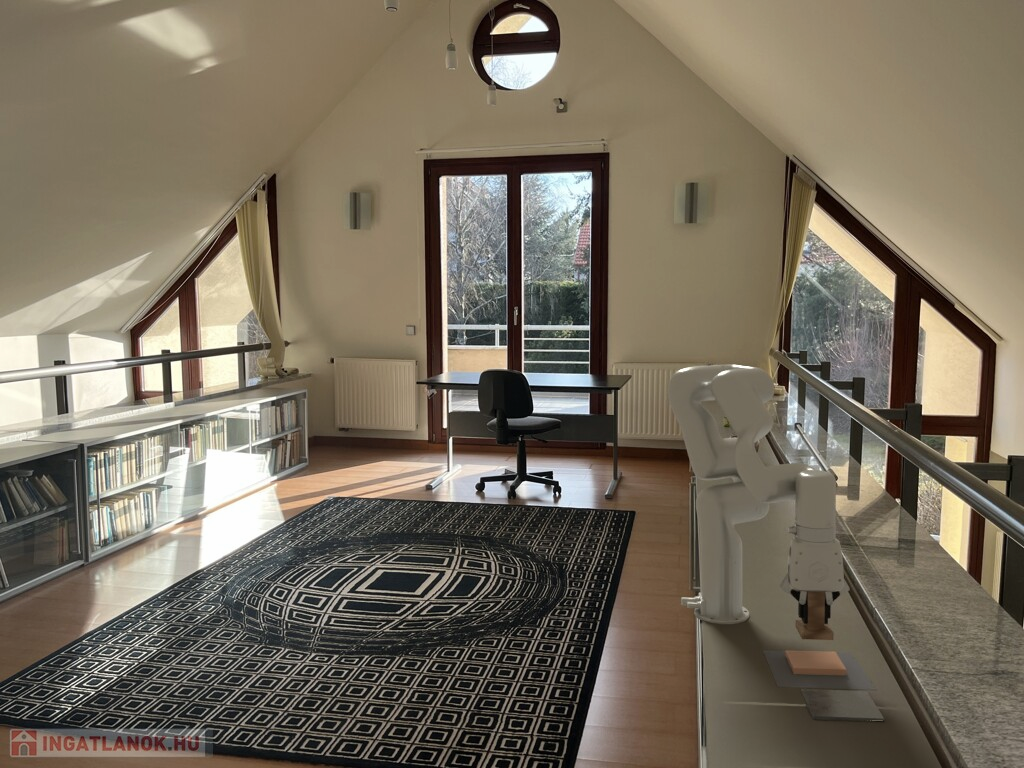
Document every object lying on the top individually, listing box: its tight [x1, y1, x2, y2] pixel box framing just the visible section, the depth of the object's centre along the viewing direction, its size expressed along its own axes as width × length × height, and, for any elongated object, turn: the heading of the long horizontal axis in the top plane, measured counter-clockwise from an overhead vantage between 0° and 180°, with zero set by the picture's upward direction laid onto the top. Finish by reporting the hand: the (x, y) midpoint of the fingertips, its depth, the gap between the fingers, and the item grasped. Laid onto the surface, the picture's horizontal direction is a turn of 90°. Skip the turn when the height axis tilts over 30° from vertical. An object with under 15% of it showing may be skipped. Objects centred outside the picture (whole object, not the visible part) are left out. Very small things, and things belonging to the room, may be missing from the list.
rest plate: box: [800, 688, 885, 722], centre depth 147 cm, size 12×10×1 cm
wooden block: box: [795, 591, 835, 641], centre depth 162 cm, size 6×6×10 cm
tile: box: [784, 650, 846, 676], centre depth 162 cm, size 10×1×8 cm
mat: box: [762, 650, 877, 691], centre depth 161 cm, size 18×16×1 cm
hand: (814, 620), depth 162 cm, fingers closed on wooden block, 3 cm apart
